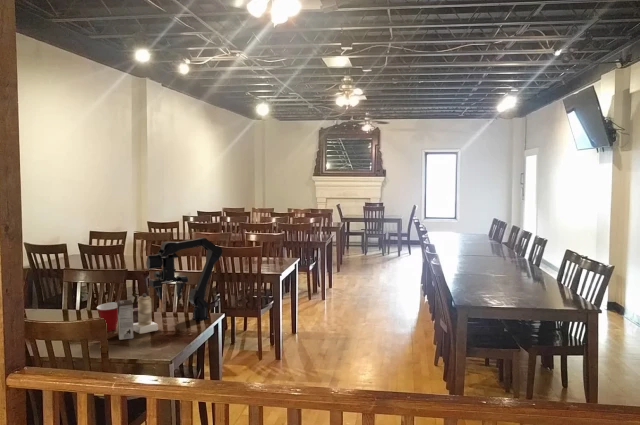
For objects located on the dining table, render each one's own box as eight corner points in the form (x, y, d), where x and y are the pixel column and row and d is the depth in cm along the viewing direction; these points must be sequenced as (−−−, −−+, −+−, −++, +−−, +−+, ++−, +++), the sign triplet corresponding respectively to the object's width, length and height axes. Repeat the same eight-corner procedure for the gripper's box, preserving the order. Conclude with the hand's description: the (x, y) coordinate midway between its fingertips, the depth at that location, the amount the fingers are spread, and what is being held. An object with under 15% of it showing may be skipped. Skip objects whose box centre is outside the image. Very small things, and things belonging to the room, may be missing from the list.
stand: (149, 326, 260) (149, 320, 260) (158, 330, 254) (157, 323, 254) (131, 329, 254) (131, 323, 254) (139, 333, 248) (139, 327, 248)
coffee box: (117, 334, 247) (116, 300, 246) (132, 333, 249) (131, 299, 248) (118, 340, 238) (117, 304, 237) (133, 338, 241) (132, 303, 240)
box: (146, 321, 270) (146, 307, 269) (143, 324, 264) (142, 310, 263) (134, 322, 269) (133, 307, 269) (130, 325, 263) (130, 310, 263)
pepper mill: (152, 321, 258) (151, 291, 257) (150, 325, 252) (150, 294, 251) (139, 322, 256) (138, 292, 256) (137, 325, 250) (137, 294, 250)
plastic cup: (92, 331, 252) (91, 306, 252) (108, 325, 263) (107, 301, 262) (110, 333, 249) (109, 308, 248) (126, 327, 259) (125, 303, 258)
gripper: (177, 263, 276) (178, 292, 277) (143, 267, 263) (144, 298, 264) (188, 265, 267) (189, 296, 268) (153, 270, 255) (154, 302, 256)
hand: (169, 298), depth 264 cm, fingers open, 9 cm apart
